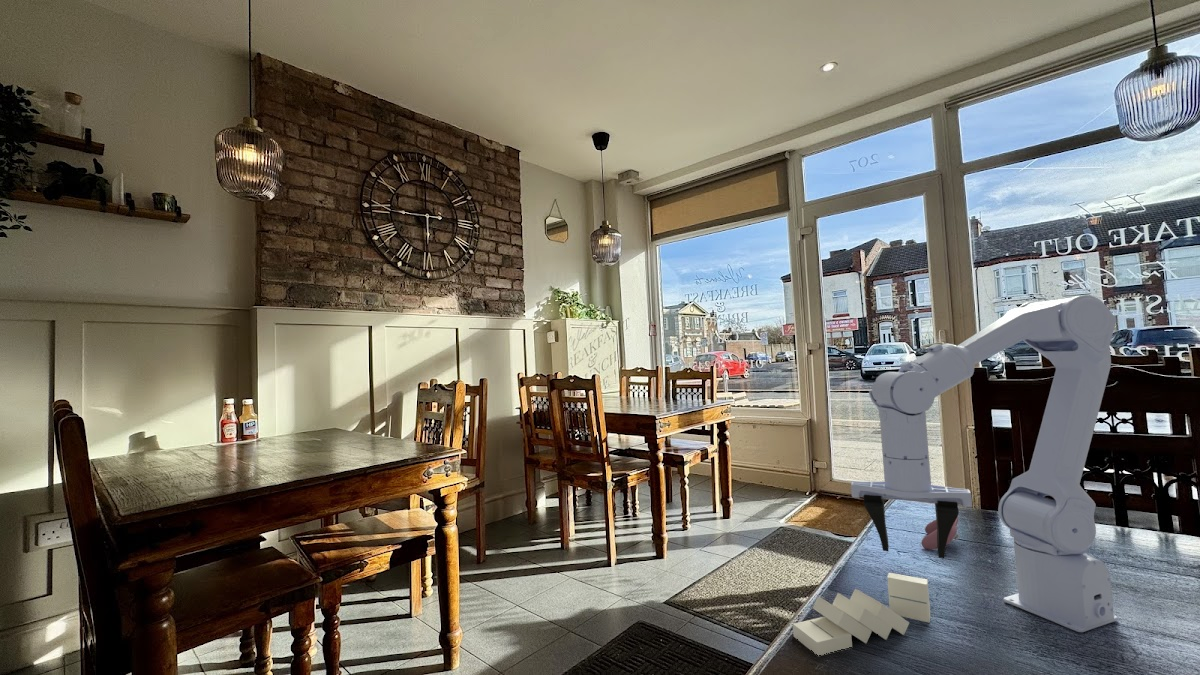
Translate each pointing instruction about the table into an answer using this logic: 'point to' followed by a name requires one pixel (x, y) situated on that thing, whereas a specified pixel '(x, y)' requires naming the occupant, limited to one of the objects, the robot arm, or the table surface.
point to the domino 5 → (909, 596)
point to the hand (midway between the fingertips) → (912, 552)
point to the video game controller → (931, 538)
